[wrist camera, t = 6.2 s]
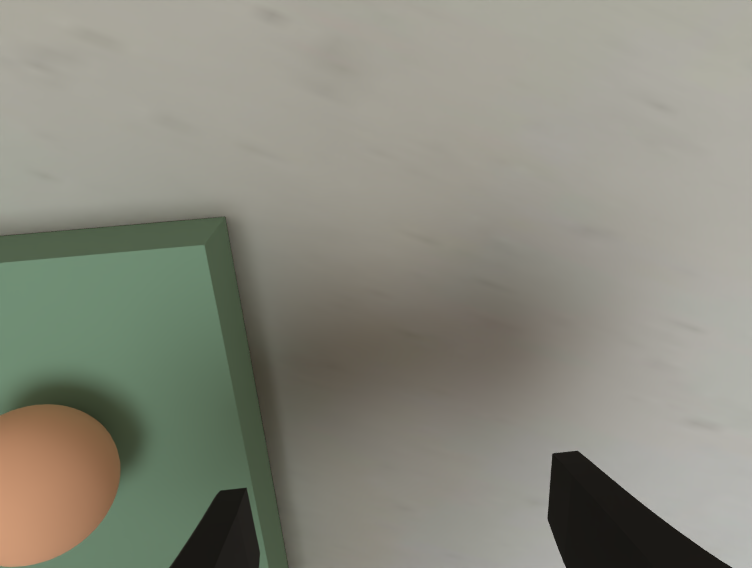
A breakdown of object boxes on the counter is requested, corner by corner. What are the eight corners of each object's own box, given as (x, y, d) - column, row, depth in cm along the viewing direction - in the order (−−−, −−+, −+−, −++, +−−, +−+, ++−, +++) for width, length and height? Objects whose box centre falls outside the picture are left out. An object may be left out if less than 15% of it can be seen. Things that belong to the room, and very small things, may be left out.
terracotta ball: (153, 478, 17) (103, 594, 13) (23, 492, 16) (-65, 614, 13) (122, 369, 15) (55, 465, 11) (-21, 384, 15) (-137, 485, 11)
